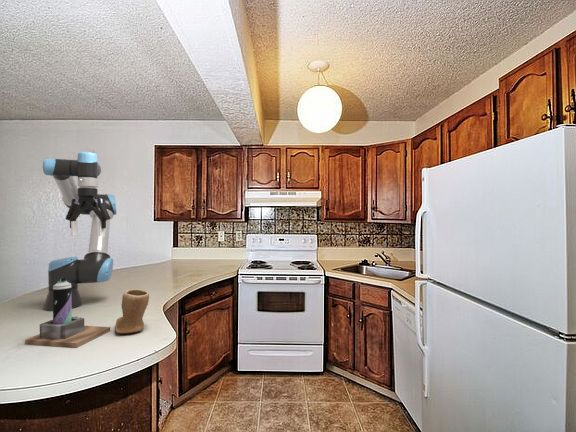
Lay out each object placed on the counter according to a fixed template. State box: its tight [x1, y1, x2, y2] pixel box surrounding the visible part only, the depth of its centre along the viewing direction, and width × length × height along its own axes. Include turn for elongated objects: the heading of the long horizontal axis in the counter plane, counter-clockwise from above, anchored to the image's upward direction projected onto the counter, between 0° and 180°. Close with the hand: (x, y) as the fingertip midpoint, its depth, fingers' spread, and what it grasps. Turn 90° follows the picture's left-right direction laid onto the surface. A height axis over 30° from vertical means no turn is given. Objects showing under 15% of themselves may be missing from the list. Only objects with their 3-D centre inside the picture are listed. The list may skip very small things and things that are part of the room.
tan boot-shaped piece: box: [114, 288, 150, 334], centre depth 128 cm, size 15×12×15 cm
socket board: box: [24, 316, 111, 349], centre depth 119 cm, size 20×16×6 cm
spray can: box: [52, 278, 73, 325], centre depth 118 cm, size 6×6×20 cm
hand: (87, 236), depth 146 cm, fingers open, 13 cm apart
